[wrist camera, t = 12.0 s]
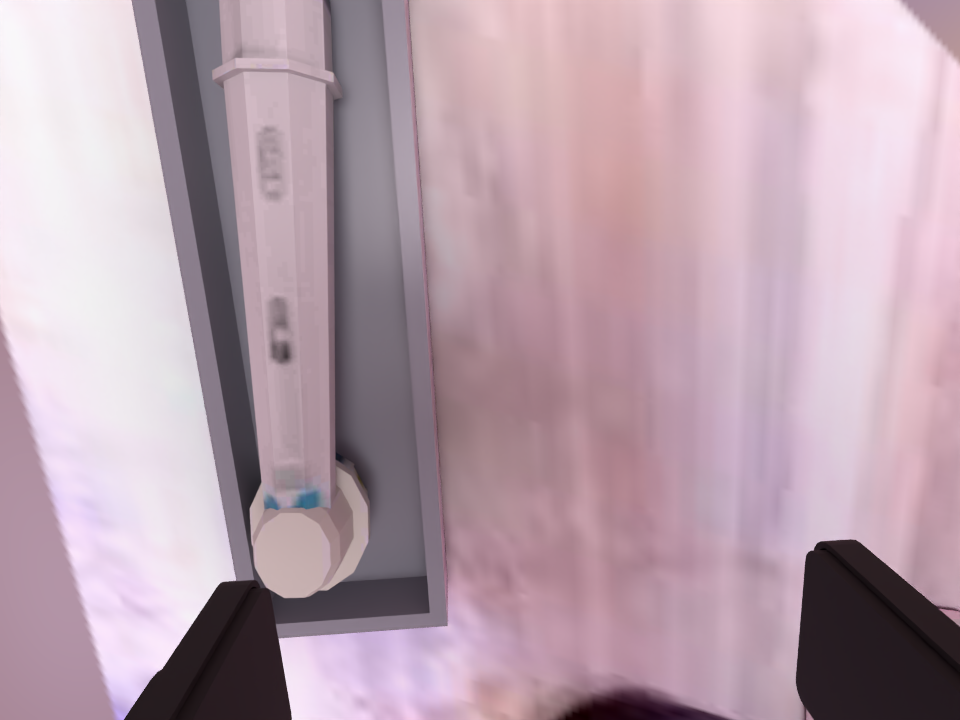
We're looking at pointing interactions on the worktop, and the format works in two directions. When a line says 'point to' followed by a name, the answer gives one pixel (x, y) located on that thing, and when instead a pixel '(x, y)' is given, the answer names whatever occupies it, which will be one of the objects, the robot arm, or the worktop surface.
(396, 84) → the tray
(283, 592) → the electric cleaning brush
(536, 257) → the worktop surface
